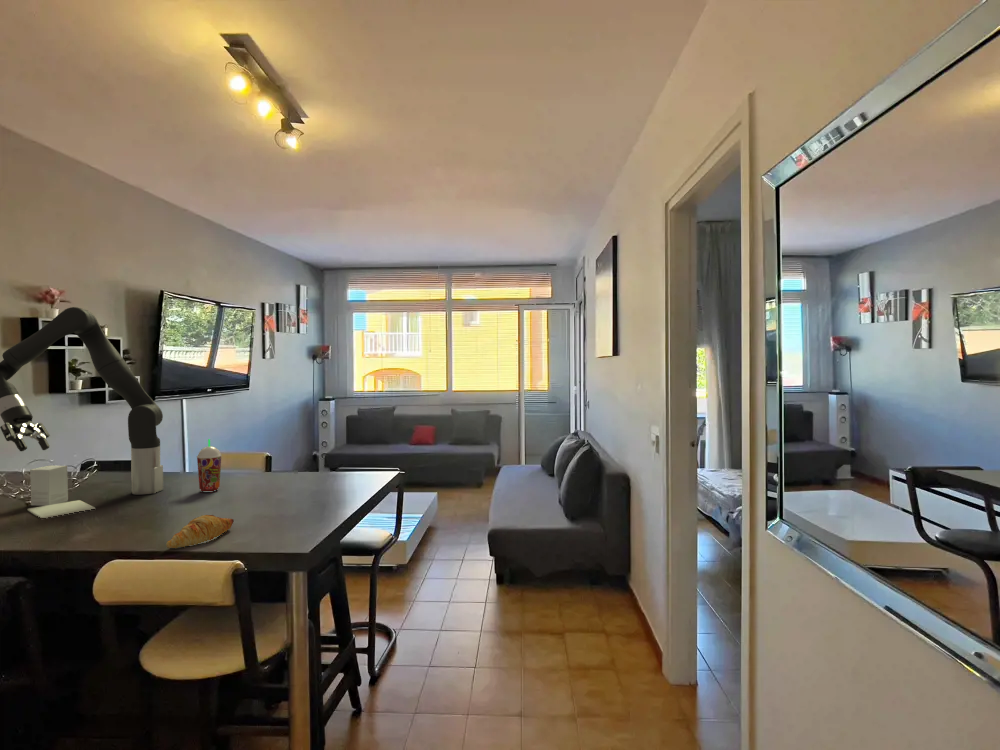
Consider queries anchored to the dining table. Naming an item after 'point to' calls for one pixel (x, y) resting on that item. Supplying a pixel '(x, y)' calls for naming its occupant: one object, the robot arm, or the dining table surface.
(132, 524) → the dining table surface
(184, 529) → the croissant
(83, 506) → the topple mat
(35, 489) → the supplement box
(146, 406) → the robot arm
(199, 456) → the smoothie
